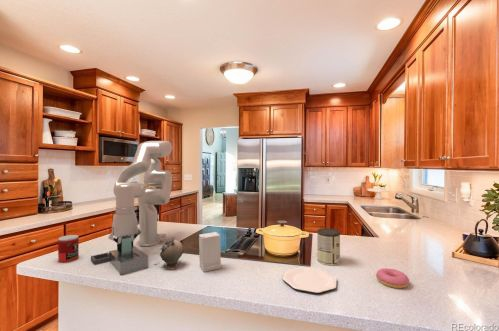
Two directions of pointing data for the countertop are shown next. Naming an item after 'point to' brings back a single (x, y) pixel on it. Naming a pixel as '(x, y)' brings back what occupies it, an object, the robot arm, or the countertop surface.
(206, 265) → the skincare box
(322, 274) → the plate
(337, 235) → the coffee can
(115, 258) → the port panel
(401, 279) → the doughnut
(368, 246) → the countertop surface
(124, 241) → the plug
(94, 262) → the tray
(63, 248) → the canned food
